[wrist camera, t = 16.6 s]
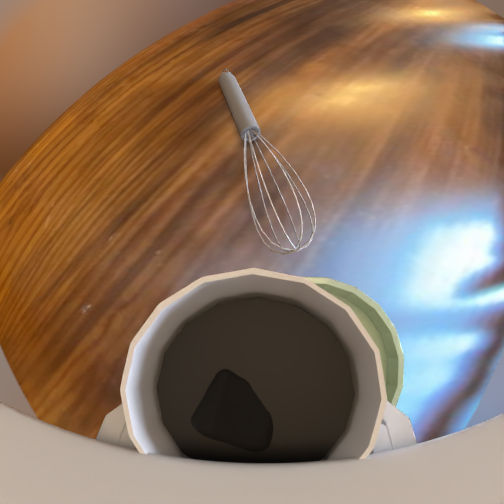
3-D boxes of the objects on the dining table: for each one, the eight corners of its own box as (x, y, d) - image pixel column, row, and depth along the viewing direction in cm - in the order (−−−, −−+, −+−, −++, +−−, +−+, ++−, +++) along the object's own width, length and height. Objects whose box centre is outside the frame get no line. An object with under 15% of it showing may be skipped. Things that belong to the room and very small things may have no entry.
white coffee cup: (292, 445, 14) (312, 542, 5) (187, 399, 15) (90, 441, 6) (340, 342, 16) (423, 324, 6) (234, 298, 17) (187, 230, 8)
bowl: (396, 415, 26) (420, 425, 20) (243, 464, 25) (237, 486, 20) (353, 271, 32) (370, 254, 26) (201, 315, 31) (186, 306, 25)
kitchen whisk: (241, 73, 44) (237, 44, 38) (320, 254, 33) (330, 232, 27) (206, 81, 43) (199, 53, 38) (268, 270, 32) (267, 251, 26)
